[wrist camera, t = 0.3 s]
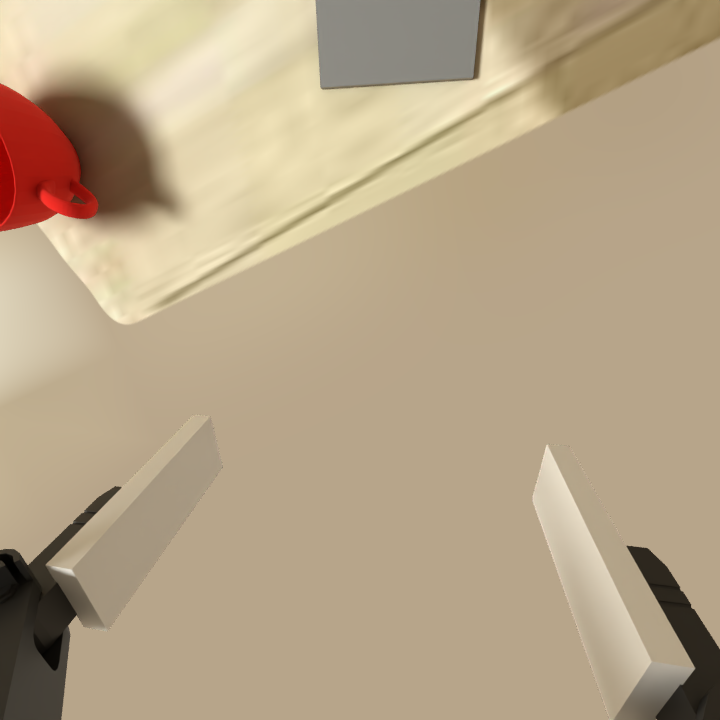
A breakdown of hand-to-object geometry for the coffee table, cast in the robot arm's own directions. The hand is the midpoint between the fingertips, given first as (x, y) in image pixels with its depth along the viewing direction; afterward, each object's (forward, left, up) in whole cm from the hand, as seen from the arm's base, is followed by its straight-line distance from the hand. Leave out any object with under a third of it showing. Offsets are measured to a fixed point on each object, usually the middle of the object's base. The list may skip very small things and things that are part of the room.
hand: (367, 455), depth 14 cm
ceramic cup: (-12, -36, -28) cm, 47 cm away
